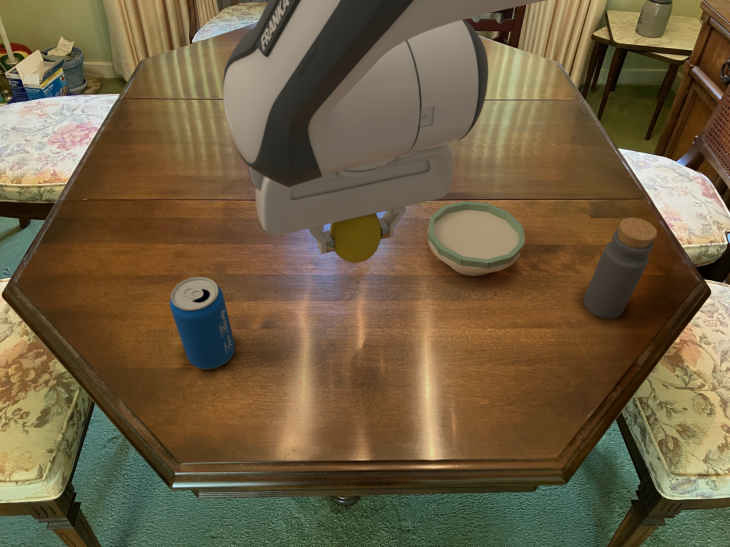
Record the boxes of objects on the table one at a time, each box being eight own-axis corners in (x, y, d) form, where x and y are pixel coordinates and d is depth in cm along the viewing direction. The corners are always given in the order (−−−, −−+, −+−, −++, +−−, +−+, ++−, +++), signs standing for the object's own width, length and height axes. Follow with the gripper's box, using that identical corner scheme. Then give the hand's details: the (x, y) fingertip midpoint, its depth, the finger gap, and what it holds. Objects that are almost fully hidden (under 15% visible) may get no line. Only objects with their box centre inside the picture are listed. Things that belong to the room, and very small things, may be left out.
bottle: (597, 285, 86) (630, 209, 76) (630, 307, 83) (670, 230, 73) (575, 302, 84) (606, 225, 73) (609, 325, 80) (647, 248, 70)
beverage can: (221, 378, 73) (204, 317, 65) (178, 364, 74) (156, 304, 66) (244, 342, 77) (231, 281, 69) (203, 330, 79) (186, 269, 70)
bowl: (535, 278, 87) (544, 248, 83) (450, 301, 83) (455, 272, 79) (487, 222, 97) (493, 193, 93) (410, 241, 94) (413, 212, 89)
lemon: (384, 249, 64) (387, 192, 58) (372, 281, 60) (374, 224, 54) (339, 240, 65) (337, 184, 59) (324, 272, 61) (321, 214, 55)
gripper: (253, 168, 46) (270, 284, 56) (469, 126, 51) (450, 238, 61) (237, 131, 50) (256, 245, 60) (438, 96, 56) (426, 206, 65)
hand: (356, 241), depth 60 cm, fingers closed on lemon, 5 cm apart
